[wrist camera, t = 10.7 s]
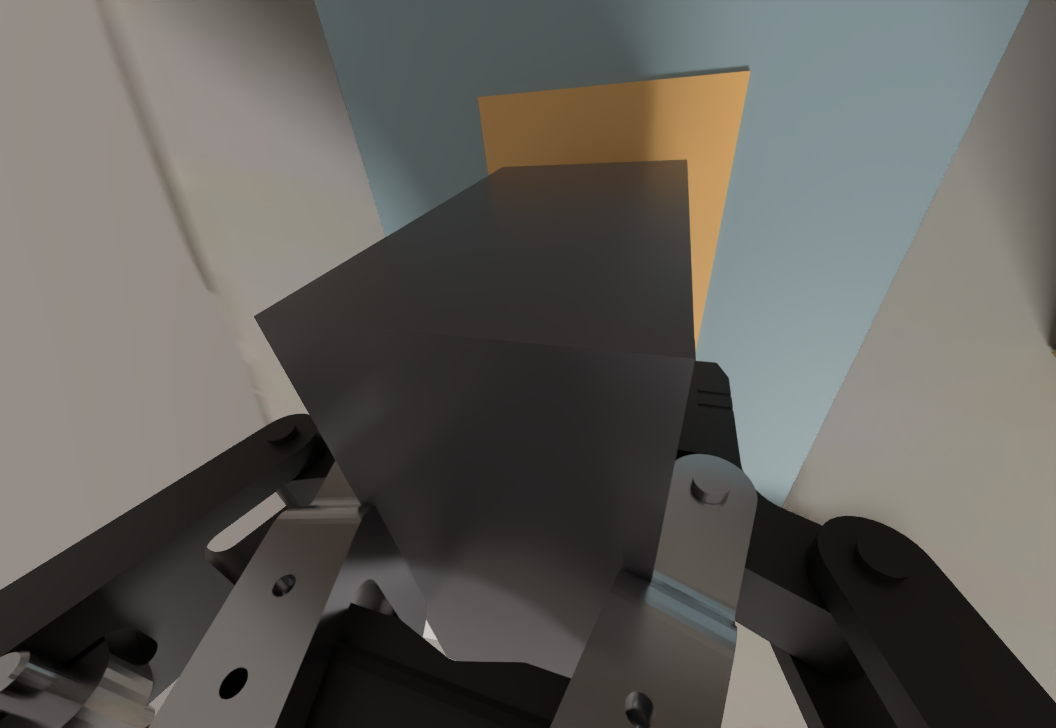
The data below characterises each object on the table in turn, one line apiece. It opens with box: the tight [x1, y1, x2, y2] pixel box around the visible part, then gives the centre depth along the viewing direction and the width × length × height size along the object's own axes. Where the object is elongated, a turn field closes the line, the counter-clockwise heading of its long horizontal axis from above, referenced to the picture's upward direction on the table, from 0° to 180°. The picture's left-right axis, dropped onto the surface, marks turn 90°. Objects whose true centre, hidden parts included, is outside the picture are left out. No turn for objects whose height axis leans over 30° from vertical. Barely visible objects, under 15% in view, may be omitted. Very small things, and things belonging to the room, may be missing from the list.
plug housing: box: [254, 159, 695, 678], centre depth 9 cm, size 4×9×7 cm, turn 5°
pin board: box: [314, 0, 1030, 508], centre depth 12 cm, size 14×18×4 cm
